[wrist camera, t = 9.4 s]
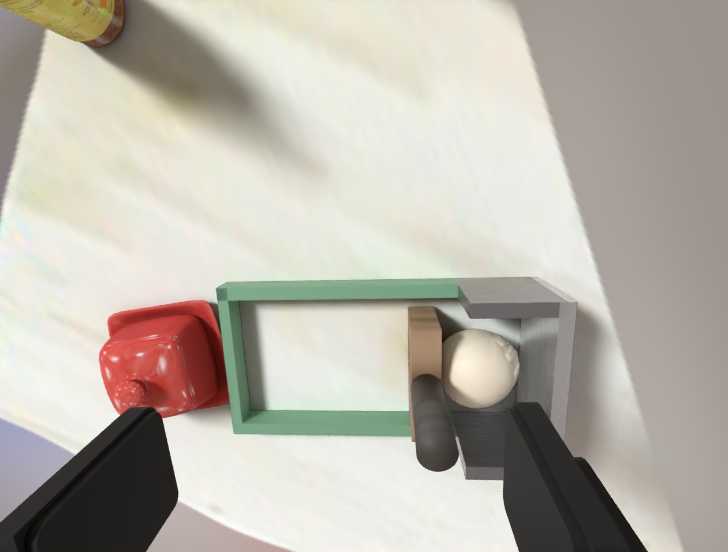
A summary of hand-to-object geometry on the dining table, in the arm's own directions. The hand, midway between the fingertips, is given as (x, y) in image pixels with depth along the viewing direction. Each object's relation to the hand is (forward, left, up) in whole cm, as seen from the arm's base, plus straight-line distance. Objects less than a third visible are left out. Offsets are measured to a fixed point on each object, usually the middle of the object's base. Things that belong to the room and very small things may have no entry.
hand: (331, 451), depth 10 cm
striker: (+9, +4, -27) cm, 29 cm away
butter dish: (+10, -21, -28) cm, 36 cm away
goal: (+9, +11, -27) cm, 31 cm away
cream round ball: (+9, +9, -27) cm, 30 cm away
